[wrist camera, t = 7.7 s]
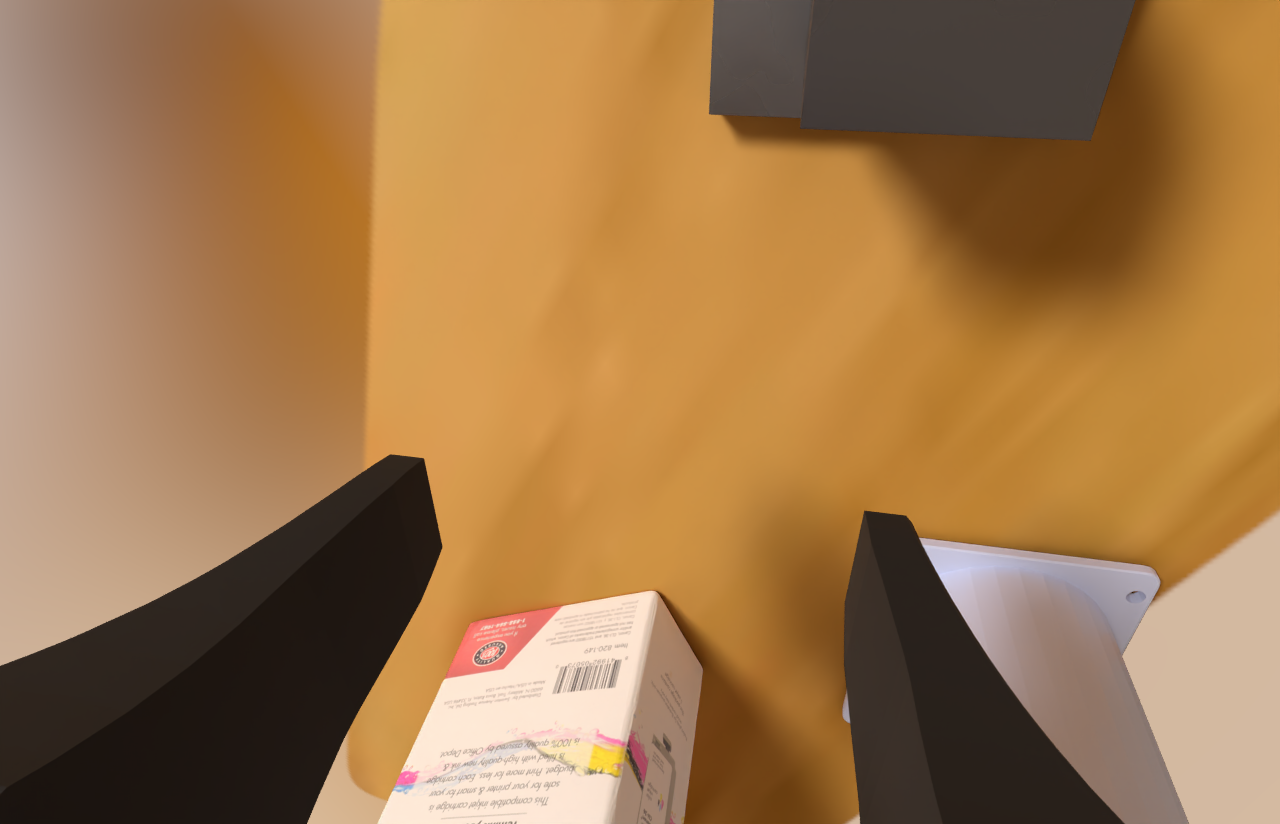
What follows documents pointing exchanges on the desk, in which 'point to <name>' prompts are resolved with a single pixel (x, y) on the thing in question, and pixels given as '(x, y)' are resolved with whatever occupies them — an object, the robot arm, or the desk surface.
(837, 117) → the link
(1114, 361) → the desk surface
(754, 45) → the frame
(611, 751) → the ink cartridge box
